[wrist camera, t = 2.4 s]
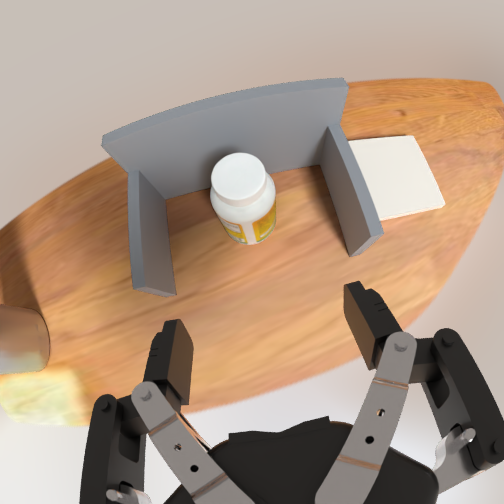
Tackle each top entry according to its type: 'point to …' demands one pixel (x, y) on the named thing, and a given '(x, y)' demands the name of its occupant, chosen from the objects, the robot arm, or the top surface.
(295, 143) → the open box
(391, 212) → the mat
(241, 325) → the top surface
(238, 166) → the supplement bottle
